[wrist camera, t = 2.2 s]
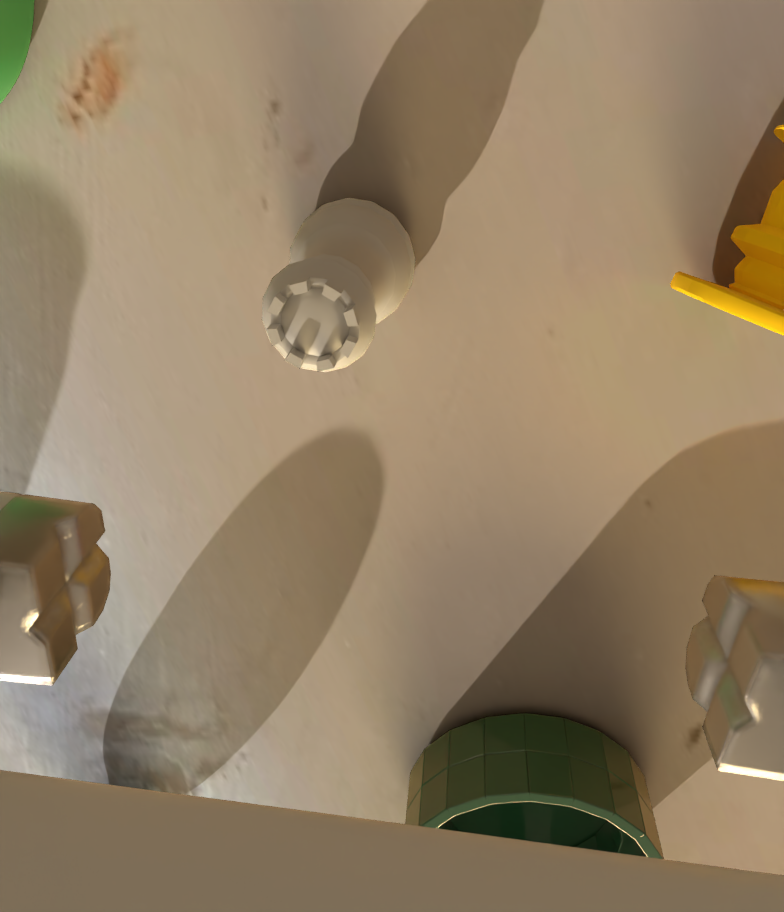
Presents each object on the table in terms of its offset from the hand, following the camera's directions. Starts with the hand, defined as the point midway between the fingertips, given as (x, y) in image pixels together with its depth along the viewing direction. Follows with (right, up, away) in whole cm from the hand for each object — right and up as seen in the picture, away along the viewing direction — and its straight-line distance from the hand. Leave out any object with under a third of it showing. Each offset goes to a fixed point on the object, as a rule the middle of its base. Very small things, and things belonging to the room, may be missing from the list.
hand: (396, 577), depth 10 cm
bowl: (+7, -16, +29) cm, 34 cm away
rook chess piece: (-1, +9, +17) cm, 19 cm away
